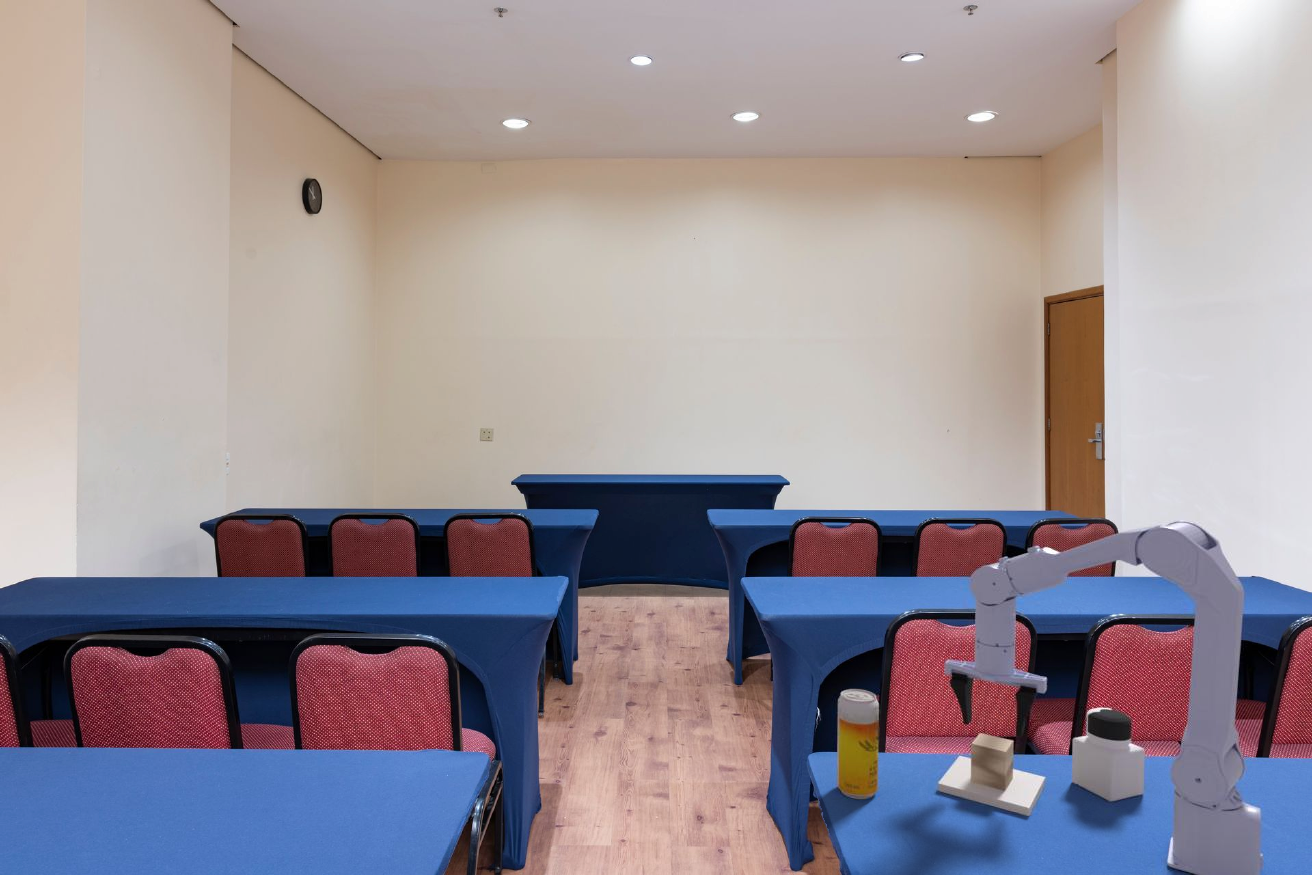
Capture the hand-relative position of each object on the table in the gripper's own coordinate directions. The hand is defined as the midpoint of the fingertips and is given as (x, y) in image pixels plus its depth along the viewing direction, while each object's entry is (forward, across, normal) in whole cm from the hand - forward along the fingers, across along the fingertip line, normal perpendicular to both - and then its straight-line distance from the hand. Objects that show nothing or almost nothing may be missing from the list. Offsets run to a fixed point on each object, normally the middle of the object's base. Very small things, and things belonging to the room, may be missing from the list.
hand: (993, 728), depth 124 cm
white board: (+9, 0, 0) cm, 9 cm away
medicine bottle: (+10, +14, +10) cm, 20 cm away
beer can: (+10, -16, -14) cm, 23 cm away
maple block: (+8, 0, 0) cm, 8 cm away
